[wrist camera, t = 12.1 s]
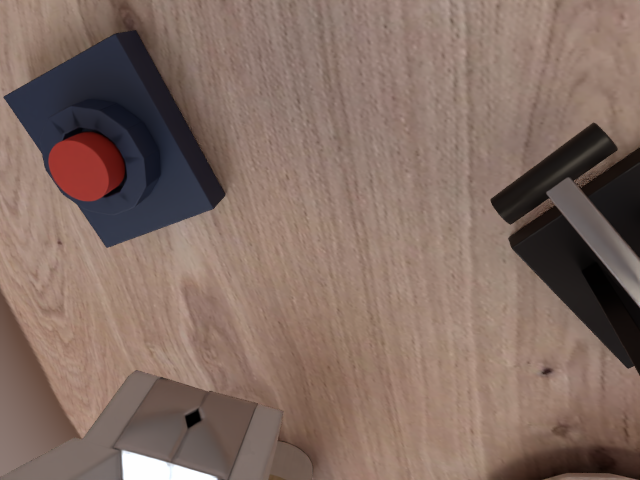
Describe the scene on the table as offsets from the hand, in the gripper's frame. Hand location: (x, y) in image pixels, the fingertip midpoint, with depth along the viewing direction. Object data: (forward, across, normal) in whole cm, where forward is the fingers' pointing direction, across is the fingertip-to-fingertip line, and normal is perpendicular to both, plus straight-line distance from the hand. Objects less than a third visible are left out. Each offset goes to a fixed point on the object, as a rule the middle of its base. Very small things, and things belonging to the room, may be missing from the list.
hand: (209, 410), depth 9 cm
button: (+18, +14, +5) cm, 23 cm away
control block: (+22, +14, +5) cm, 26 cm away
